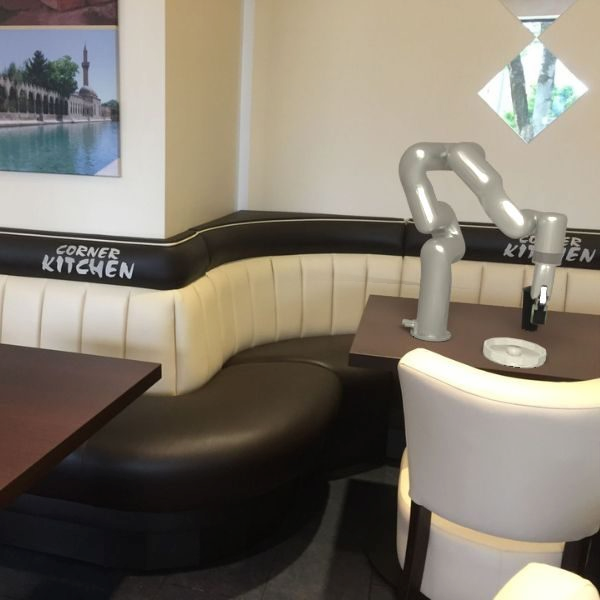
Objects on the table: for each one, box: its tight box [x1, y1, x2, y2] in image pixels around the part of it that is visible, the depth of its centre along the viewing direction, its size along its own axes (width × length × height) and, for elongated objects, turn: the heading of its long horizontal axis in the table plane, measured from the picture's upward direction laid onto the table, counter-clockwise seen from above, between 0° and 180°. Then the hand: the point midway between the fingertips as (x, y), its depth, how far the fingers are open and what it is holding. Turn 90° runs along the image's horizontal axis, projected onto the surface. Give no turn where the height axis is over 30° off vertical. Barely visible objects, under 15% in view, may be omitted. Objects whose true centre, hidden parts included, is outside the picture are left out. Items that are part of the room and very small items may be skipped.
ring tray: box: [482, 336, 547, 369], centre depth 174 cm, size 17×17×3 cm
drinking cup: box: [521, 285, 539, 332], centre depth 198 cm, size 8×8×20 cm
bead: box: [530, 304, 549, 326], centre depth 169 cm, size 4×4×5 cm
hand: (538, 320), depth 169 cm, fingers closed on bead, 4 cm apart
